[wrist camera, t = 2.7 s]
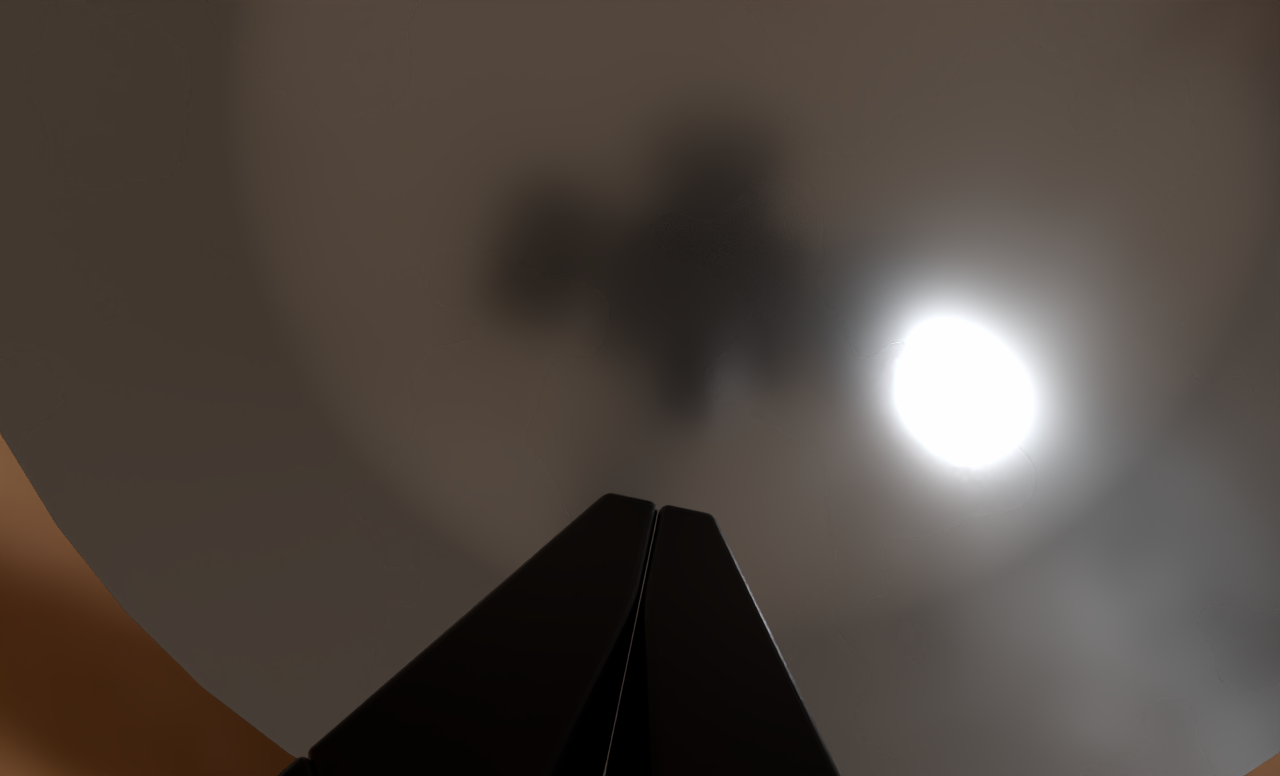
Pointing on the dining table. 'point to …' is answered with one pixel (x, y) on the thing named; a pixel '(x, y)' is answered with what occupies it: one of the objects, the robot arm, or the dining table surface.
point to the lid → (673, 342)
